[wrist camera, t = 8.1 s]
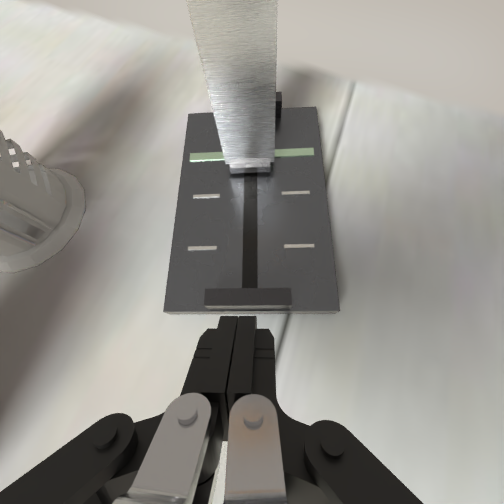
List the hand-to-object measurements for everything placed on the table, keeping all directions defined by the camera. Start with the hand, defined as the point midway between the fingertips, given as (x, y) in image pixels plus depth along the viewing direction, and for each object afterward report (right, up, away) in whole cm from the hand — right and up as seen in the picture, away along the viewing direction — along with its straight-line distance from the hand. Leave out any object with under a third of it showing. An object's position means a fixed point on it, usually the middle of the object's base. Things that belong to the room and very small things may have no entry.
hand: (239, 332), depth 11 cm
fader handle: (0, +12, +9) cm, 15 cm away
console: (+1, +7, +9) cm, 12 cm away
